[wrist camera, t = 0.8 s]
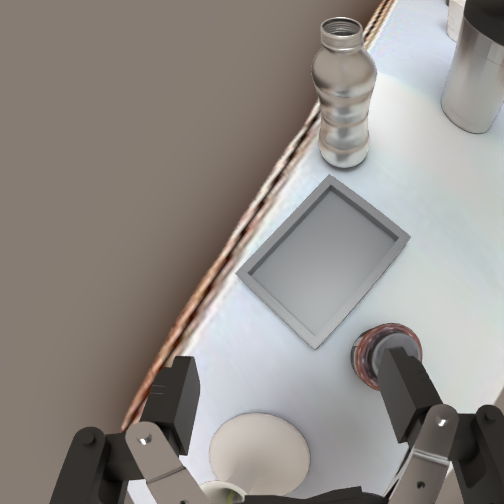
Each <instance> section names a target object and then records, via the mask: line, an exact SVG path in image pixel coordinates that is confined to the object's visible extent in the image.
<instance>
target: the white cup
mask: <svg viewBox="0 0 504 504" xmlns="http://www.w3.org/2000/svg"><path fill="white" fill-rule="evenodd" d="M465 2H466V0H449V10H448V21H447V23H448V26H447V35H448V36H449V37H450V38H451V39H452V40H454V41H455V42H457V40H458V36H459V31H460V26H461V22H462V17H463V12H464V6H465Z"/></svg>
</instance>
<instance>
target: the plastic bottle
mask: <svg viewBox="0 0 504 504" xmlns="http://www.w3.org/2000/svg"><path fill="white" fill-rule="evenodd" d="M320 29H321V43H322V45H323V47H322V48H321V49H320V50H319V52H318V53H317V54H316V56H315V58H314V60H313V63H312V67H311V73H312V77H313V81H314V84H315V87H316V91H317V94H318V97H319V102H320V107H321V129H320V133H319V142H318V143H319V148H320V151H321V153H322V156H323V157H324V159H325V160H326V161H327V162H328V163H330V164H332V165H334V166H337V167H341V168H347V167H352V166H355V165H357V164H359V163H360V162H362V161H363V159H364V158H365V156H366V154H367V152H368V150H369V146H370V139H369V132H368V111H369V105H370V99H371V96H372V93H373V89H374V86H375V82H376V76H377V69H376V66H375V63H374V60H373V59H372V57H371V56H370V55H369V53H368V52H367V51H366V50H365V49H364V48H363V46H364V38H363V29H362V26H361V24H360V23H359V22H357V21H355V20H353V19H349V18H344V17H335V18H330V19H327V20H325V21H324V22H323V23H322V24H321V28H320Z"/></svg>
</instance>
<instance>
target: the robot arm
mask: <svg viewBox="0 0 504 504" xmlns="http://www.w3.org/2000/svg"><path fill="white" fill-rule="evenodd" d="M503 102H504V0H466V2H465V6H464V12H463V17H462V22H461V26H460V31H459V36H458V40H457V44H456V48H455V52H454V56H453V60H452V64H451V68H450V71H449V75H448V78H447V81H446V85H445V88H444V92H443V95H442V98H441V105H442V108H443V110H444V112H445V114H446V115H447V116H448V118H449V119H450V120H451V121H452V122H453V123H455V124H456V125H457V126H459V127H460V128H462V129H464V130H466V131H469V132H472V133H484V132H486V131H487V130H489V128H490V126H491V124H492V123H493V121H494V119H495V117H496V115H497V113H498V112H499V110H500V108H501V106H502V104H503ZM377 381H378V386H379V389H380V392H381V395H382V397H383V400H384V403H385V406H386V409H387V412H388V414H389V417H390V420H391V423H392V426H393V429H394V432H395V435H396V438H397V441H398V444H399V443H403V442H408V445H409V447H408V449H407V451H406V453H405V455H404V457H403V459H402V461H401V464H400V466H399V468H398V470H397V472H396V474H395V476H394V477H393V479H392V481H391V483H390V485H389V486H388V488H387V490H386V491H385V493H384V494H383V496H380V495H376V494H373V493H366V492H362V489H361V486H357V487H351V488H345V489H338V490H332V491H329V492H327V493H324V494H321V495H318V496H314V497H311V498H308V499H296V498H290V497H283V496H277V495H245V496H244V501H243V502H238V503H235V504H435V501H436V499H437V497H438V494H439V491H440V489H441V487H442V484H443V481H444V479H445V476H446V473H447V470H448V467H449V464H450V461H452V464H453V467H454V470H455V473H456V477H457V480H458V483H459V486H460V490H461V494H462V497H463V501H464V504H504V416H503V414H502V412H501V411H500V409H499V408H497V407H495V406H493V405H483V406H481V407H480V408H479V409H478V410H477V412H476V414H459V413H457V411H456V410H455V409H454V408H453V407H451V406H449V405H446V404H443V402H442V400H441V399H440V397H439V395H438V393H437V391H436V389H435V387H434V385H433V383H432V381H431V379H429V376H428V374H427V373H426V370H425V368H424V366H423V365H422V363H421V362H420V361H419V360H418V359H417V358H415V357H414V356H408V355H407V353H406V351H405V349H404V348H403V346H395V347H388V348H385V349H384V351H383V355H382V359H381V363H380V367H379V370H378V375H377ZM199 396H200V381H199V376H198V372H197V367H196V363H195V359H194V357H193V356H176V357H175V358H174V361H173V364H172V367H171V368H169V367H164V368H163V369H162V370H161V371H160V372H159V373H158V374H157V375H156V377H155V380H154V383H153V386H152V388H151V391H150V394H149V396H148V399H147V402H146V405H145V407H144V410H143V413H142V416H141V418H140V421H139V423H136V424H134V425H132V426H131V427H130V428H129V429H128V430H127V432H124V433H117V434H108V435H104V433H103V432H102V431H101V430H100V429H98V428H96V427H86V428H83V429H81V430H80V431H78V432H77V433H76V434H75V436H74V438H73V441H72V443H71V446H70V448H69V451H68V453H67V456H66V458H65V461H64V464H63V466H62V469H61V472H60V474H59V477H58V480H57V483H56V486H55V488H54V491H53V494H52V497H51V500H50V503H49V504H124V500H125V495H126V491H127V486H128V482H129V480H140V479H145V480H146V484H147V486H148V488H149V490H150V492H151V494H152V496H153V497H154V499H155V501H156V502H157V504H212V503H211V501H210V500H209V499H208V497H207V496H206V495H205V493H204V492H203V491H202V489H201V488H200V487H199V485H198V484H197V482H196V481H195V480H194V478H193V477H192V475H191V474H190V473H189V471H188V470H187V469H186V467H184V466H183V464H182V463H181V461H180V460H179V455H185V456H187V455H188V450H189V445H190V440H191V435H192V430H193V425H194V420H195V415H196V410H197V406H198V401H199Z"/></svg>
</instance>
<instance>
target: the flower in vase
mask: <svg viewBox="0 0 504 504" xmlns="http://www.w3.org/2000/svg"><path fill="white" fill-rule="evenodd" d="M209 460H210V465H211V468H212V471H213V473H214V475H215V476H216V478H217V479H218V481H209V482H205V483H203V484H201V485H200V486H199V487H200V488H201V489H202V491H203V492H204V493H205V495H206V496H207V497H208V499H209V500H210V501H211V503H212V504H235V503H238V502H243V501H244V496H245V495H277V496H284V495H286V494H288V493H290V492H292V491H293V490H295V489H296V488H297V487H298V486H299V485H300V484H301V483H302V482H303V480H304V478H305V477H306V475H307V472H308V470H309V466H310V453H309V449H308V446H307V443H306V441H305V439H304V438H303V436H302V435H301V434H300V432H299V431H298V430H297V429H296V428H295V427H293V426H292V425H291V424H290V423H288V422H286V421H285V420H283V419H281V418H278V417H276V416H272V415H268V414H263V413H249V414H243V415H239V416H236V417H234V418H232V419H230V420H228V421H227V422H225V423H224V424H223V425H221V427H220V428H219V429H218V430H217V431H216V433H215V434H214V436H213V438H212V440H211V443H210V449H209Z"/></svg>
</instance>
